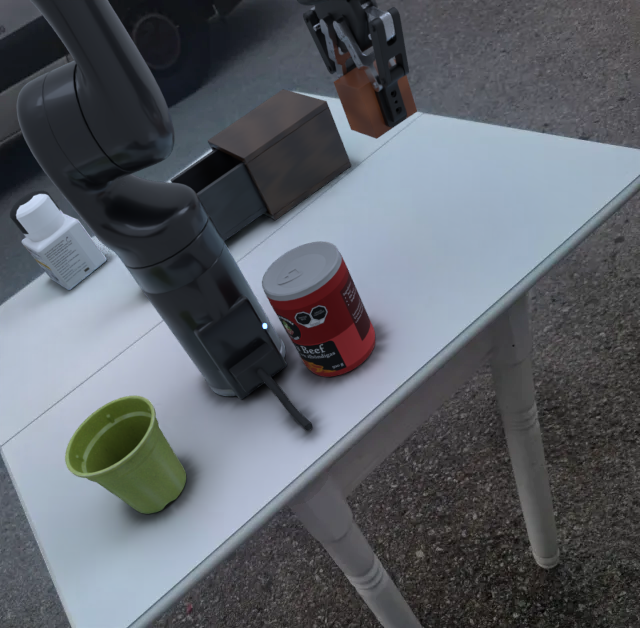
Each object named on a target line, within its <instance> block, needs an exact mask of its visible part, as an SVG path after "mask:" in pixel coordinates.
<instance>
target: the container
mask: <svg viewBox="0 0 640 628" xmlns="http://www.w3.org/2000/svg"><path fill="white" fill-rule="evenodd" d="M9 218H10V219H11V221H12V222H13V223H14V224H15V225H16V227H17V228H18V229H19V231H20V232H21V233H22V235H24V238H23V239H21V244H22V246H24V248H25V249H26V250H27V252H28V253H29V254H30V255H31V256H32V258H33V259H34V260H35V261H36V262H37V264H38V265H39V266H40V268H41V269H42V270H43V271H44V272H45V274H46V275H47V276H48V278H50V280H52V281H53V282H55V283H57V284H58V285H60V286H61V287H63V288H64V289H66V290H68V291H70V290H73V288H74V287H76V286H77V285H78V284H80V283H81V282H82V281H83V280H84V279H86V278H87V277H89V275H91V274H92V273H94V271H96V270H97V269H98V268H99V267H101V266H102V265H103V264H105V263H106V262H107V257H106V256H105V255H104V253H103V252H102V250H101V249H100V247H99V246H98V245H97V243H96V242H95V241H94V239H93V238H92V237H91V235H90V234H89V233H88V231H87V230H86V228H85V227H84V226H83V224H82V223H81V221H80V220H79V219H78V218H75V217H73V216H71V215H68V214H66V213H64V212H63V211H62V209H60V207H59V205H58V204H57V202H56V201H55V199H53V197H52V196H51V194H50V193H49V192H48V191H46V190H42V189H41V190H36V191H35V190H34V191H32V192H29V193H27V194H26V195H24V196H22V197H21V198H20V199H18V200H17V201H16V202H15V203H14V204H13V205H12V207H11V209H10V211H9Z"/></svg>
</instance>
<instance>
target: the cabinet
mask: <svg viewBox="0 0 640 628" xmlns="http://www.w3.org/2000/svg"><path fill="white" fill-rule="evenodd" d="M207 143H208V145H209V147H210V149H211V152H212V151H213V150H214V149H218V150H220V151H222V152H224V153H226V154H228V155H230V156H232V157H234V158H236V159H239V160H241V161H243V162H245V165H246V167H247V169H248V171H249V173H250V175H251V177H252V179H253V181H254V183H255V185H256V187H257V189H258V191H259V193H260V195H261V197H262V199H263V201H264V203H265V205H266V207H267V209H268V211H266V212H265V213H263V215H265V216H267V217H269V218H270V219H272V220H274V221H276V220H278V219H279V218H280V217H282V216H283V215H285V214H286V213H287V212H288V211H290V210H292V209H293V208H294V207H296V206H297V205H299V204H301V203H302V202H303V201H304V200H306V199H307V198H309V197H310V196H312V195H313V194H314V193H315V192H317V191H319V190H320V189H321V188H323V187H324V186H325V185H327V184H328V183H330V182H331V181H333V180H334V179H336V178H337V177H338V176H340V175H341V174H343V173H344V172H346V170H348V169H349V168H351V167H352V166H353V165H352V163H351V160H350V158H349V155H348V152H347V150H346V148H345V144H344V142H343V139H342V137H341V134H340V132H339V129H338V127H337V123H336V121H335V119H334V117H333V114H332V111H331V108H330V106H329V104H328V101H327V100H324V99H320V98H317V97H313V96H310V95H307V94H303V93H299V92H295V91H292V90H288V89H285V88H282V89H281V90H279V91H278V92H276V93H275V94H273V95H272V96H270V97H269V98H268V99H266V100H264V101H263V102H261V103H260V104H258V106H255V108H253V109H251V110H250V111H249V112H247V113H246V114H244V115H242V116H241V117H240V118H238V119H237V120H236V121H234V122H233V123H231V124H230V125H228V126H227V127H225V128H224V129H222V130H221V131H219V132H217V133H216V134H215V135H213V136H212V137H211V138H208V139H207Z"/></svg>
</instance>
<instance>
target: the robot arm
mask: <svg viewBox="0 0 640 628" xmlns="http://www.w3.org/2000/svg"><path fill="white" fill-rule="evenodd" d="M29 2H30V3H31V4H32V5H33V6H34V7H35V8H36V9H37V11H39V13H40V14H41V15H42V16H43V18H44V19H45V20H46V21H47V23H48V24H49V26H50V27H51V28H52V30H53V31H54V32H55V34H56V35H57V37H58V38H59V40H60V41H61V42H62V44H63V45H64V47H65V48H66V50H67V51H68V53H69V54H70V56H71V58H72V59H73V60H72V61H70V62H68V63H65V64H63V65H61V66H58V67H57V68H54V69H51V70H50V71H47V72H46V73H45V72H44V73H43V74H41V75H39V76H36V77H35V78H33V79H31V80H30V81H28V82H27V83H26V84H24V85H23V86H22V88H21V90H20V91H19V92H18V96H17V99H16V100H17V101H16V114H17V120H18V123H19V128H20V131H21V133H22V136H23V138H24V141H25V143H26V145H27V146H28V148H29V150H30V152H31V154H32V155H33V157H34V158H35V160H36V162H37V163H38V165H39V166H40V168H41V169H42V171H43V172H44V174H45V175H46V176H47V177H48V179H49V180H50V181H51V183H52V184H53V185H54V186H55V188H56V189H57V190H58V191H59V192H60V194H61V195H62V196H63V198H65V200H66V201H67V202H68V203H69V205H70V206H71V207H72V209H73V210H74V211H75V212H76V213H77V215H78V217H80V219H81V220H82V221H83V223H84V224H85V225H86V226H87V227H88V229H89V230H90V231H91V232H92V234H93V235H94V237H95V238H96V239H97V240H98V241H99V242H100V243H101V244H102V245H103V246H105V247H106V248H107V249H109V250H110V251H112V252H113V253H115V255H116V256H117V257H118V258H119V260H120V261H121V262H122V264H123V266H125V269H127V271H128V272H129V274H130V275H131V277H132V278H133V279H134V281H135V282H136V284H137V285H138V286H139V288H140V289H141V291H142V292H143V294H144V295H145V296H146V298H147V299H148V301H149V302H150V304H151V305H152V307H153V308H154V309H155V311H156V312H157V313H158V315H159V316H160V318H161V319H162V321H163V322H164V323H165V325H166V326H167V327H168V329H169V331H170V332H171V334H172V335H173V336H174V338H175V339H176V340H177V342H178V343H179V344H180V346H181V348H182V349H183V350H184V352H185V353H186V355H187V356H188V357H189V359H190V360H191V361H192V363H193V364H194V366H195V367H196V369H197V370H198V371H199V373H200V374H201V376H202V377H203V378H204V381H205V382H206V384H207V386H208V387H209V388H210V390H211V391H212V392H213V393H215V394H216V395H219V396H223V397H224V396H225V397H234V396H235V397H237V398H238V399H240V400H244V399H245V398H246V397H248V396H249V395H250V394H252V393H253V392H255V391H256V390H257V389H258V388H259V387H261V386H262V385H263V384H265V386H267V387H268V388H269V390H270V391H271V392H272V393H273V395H274V396H275V397H276V398H277V399H278V401H279V402H280V403H281V405H282V407H284V409H285V411H287V413H288V414H289V415H290V416H291V417H292V418H293V420H295V422H296V423H298V425H300V426H301V428H303V429H304V430H305V431H307V432H308V431H309V432H310V431H311V430H312V429H313V427H314V426H313V423H312V422H311V421H310V420H309V419H308V418H307V417H305V415H303V414H302V413H301V411H300V410H298V408H297V407H296V406H295V405H294V404H293V402H292V401H291V400H290V398H289V397H288V396H287V394H286V393H285V392H284V391H283V389H282V388H281V387H280V386H279V384H278V383H277V382H276V381H275V380H274V379H273V377H274V376H275V375H277V374H278V373H280V372H281V371H282V370H284V369H286V367H287V366H288V363H287V362H286V360H285V356H286V345H285V343H284V341H283V340H282V337H281V336H280V334H279V333H277V331H276V329H275V327H274V326H273V324H272V323H271V320H270V318H269V317H268V315H267V314H266V312H265V310H264V308H263V307H262V305H261V303H260V301H259V300H258V297H257V296H256V295H255V293H254V291H253V289H252V287H251V286H250V284H249V283H248V281H247V279H246V277H245V275H244V273H243V272H242V269H240V267H239V264H238V263H237V262H236V259H235V258H234V256H233V254H232V253H231V251H230V249H229V248H228V246H227V244H226V242H225V241H224V240H223V239H222V237H221V235H220V233H219V231H218V230H217V228H216V226H215V224H214V223H213V221H212V219H211V217H210V216H209V214H208V212H207V210H206V209H205V207H204V205H203V203H202V202H201V200H200V198H199V197H198V195H197V194H196V192H195V191H194V190H193V189H191V188H190V187H188V186H186V185H184V184H179V183H172V182H169V181H168V182H166V181H155V180H150V179H146V178H142V177H139V176H137V175H134V174H135V173H137V172H140V171H143V170H145V169H147V168H150V167H152V166H155V165H157V164H160V163H161V162H163V161H165V160H166V159H167V158H169V156H170V155H171V154H172V152H173V150H174V147H175V139H176V138H175V127H174V123H173V119H172V118H173V117H172V115H171V113H170V109H169V107H168V104H167V101H166V98H165V97H164V95H163V92H162V90H161V88H160V85H159V84H158V82H157V80H156V78H155V77H154V75H153V73H152V70H151V69H150V68H149V66H148V64H147V62H146V60H145V59H144V57H143V55H142V53H141V52H140V50H139V49H138V47H137V45H136V44H135V42H134V41H133V39H132V37H131V36H130V34H129V32H128V31H127V29H126V27H125V26H124V24H123V23H122V21H121V19H120V17H119V16H118V14H117V13H116V11H115V10H114V7H113V6H112V5H111V4H110V1H109V0H29ZM296 2H297V3H298V4H300V5H303V6H313V7H311V8H310V9H308V10H307V11H305V12H303V14H302V19H303V21H304V23H305V25H306V27H307V30H308V32H309V33H310V36H311V38H312V40H313V42H314V44H315V46H316V49H317V50H318V53H319V54H320V57H321V59H322V61H323V63H324V65H325V68H326V69H327V71H328V73H329V74H330V75H334V74H335V73H336V75H337V79H339V78H340V77H342V76H343V75H345V74H347V73H348V72H350V71H351V70H353V69H354V68H356V67H357V68H358V69H361V70H364V71H365V73H366V74H367V76H368V78H369V80H370V82H371V84H372V86H373V88H374V90H375V91H374V92H375V95H376V98H377V101H378V104H379V107H380V110H381V113H382V116H383V119H384V122H385V124H386V126H388V127H391V128H392V129H394V128H395V127H397V126H398V125H400V124H401V123H402V122H404V121H406V120H407V119H406V117H407V111H406V108H405V105H404V102H403V98H402V95H401V92H400V89H399V86H398V80H399V79H400V78H402V77H403V76H405V75H407V76H408V74H409V73H410V67H409V62H408V61H409V60H408V55H407V50H406V49H407V48H406V43H405V38H404V30H403V25H402V19H401V14H400V12H399V10H398V8H396V7H395V6H392V7H390V8H389V9H387V10H383V9H381V8H379V6H378V3H377V1H376V0H296ZM370 48H372V49H373V51H371V52H370V53H368V54H364V52H365V51H367V50H368V49H370ZM394 59H395V60H396V64H395V62H394ZM375 60H376V64H377V69H378V73H377V71H376V69H375V67H374V65H373V62H374V61H375ZM378 74H379V75H378ZM399 123H400V124H399ZM396 125H397V126H396ZM393 127H394V128H393Z"/></svg>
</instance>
